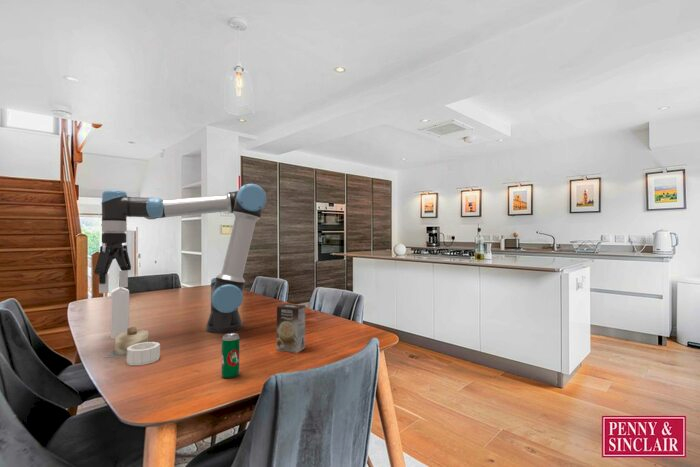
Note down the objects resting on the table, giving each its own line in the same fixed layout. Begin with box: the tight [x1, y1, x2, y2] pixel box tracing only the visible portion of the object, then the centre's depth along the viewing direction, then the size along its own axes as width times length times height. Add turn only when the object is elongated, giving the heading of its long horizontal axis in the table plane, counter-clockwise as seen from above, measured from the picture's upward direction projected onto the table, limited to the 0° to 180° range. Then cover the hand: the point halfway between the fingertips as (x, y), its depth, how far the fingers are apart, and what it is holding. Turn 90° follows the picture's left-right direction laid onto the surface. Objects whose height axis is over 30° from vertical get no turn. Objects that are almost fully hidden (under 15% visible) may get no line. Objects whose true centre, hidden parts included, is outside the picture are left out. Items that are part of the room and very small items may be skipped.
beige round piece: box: [114, 326, 149, 356], centre depth 121 cm, size 10×10×8 cm
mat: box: [104, 350, 127, 359], centre depth 120 cm, size 12×12×1 cm
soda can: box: [220, 332, 241, 379], centre depth 100 cm, size 5×5×12 cm
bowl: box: [126, 341, 161, 366], centre depth 111 cm, size 9×9×5 cm
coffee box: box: [275, 303, 306, 354], centre depth 124 cm, size 9×6×16 cm
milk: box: [110, 286, 130, 340], centre depth 139 cm, size 6×6×22 cm
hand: (114, 290), depth 124 cm, fingers open, 13 cm apart
